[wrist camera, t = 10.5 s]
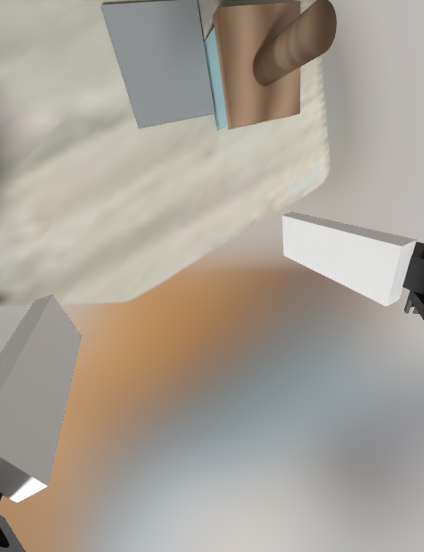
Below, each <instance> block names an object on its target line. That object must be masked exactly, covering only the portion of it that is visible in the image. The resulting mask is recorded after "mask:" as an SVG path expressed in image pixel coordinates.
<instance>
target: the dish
mask: <svg viewBox="0 0 424 552" xmlns="http://www.w3.org/2000/svg"><path fill="white" fill-rule="evenodd" d="M204 47H205V54H206V60H207V66H208V72H209V79H210V85H211V91H212V98H213V104H214V110H215V119H216V125H217V131H218V130H223V129H227V128H228V123H227V116H226V109H225V101H224V94H223V87H222V80H221V73H220V65H219V58H218V51H217V44H216V36H215V29H214V28H213V30H212V31H211V33H210V34H209V36H208V37H207V39H206V40H205V42H204Z"/></svg>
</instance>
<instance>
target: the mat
mask: <svg viewBox="0 0 424 552" xmlns="http://www.w3.org/2000/svg"><path fill="white" fill-rule="evenodd" d="M101 9H102V12H103V15H104V18H105V22H106V25H107V28H108V31H109V34H110V38H111V41H112V44H113V47H114V50H115V54H116V57H117V60H118V63H119V66H120V70H121V73H122V76H123V79H124V82H125V86H126V89H127V92H128V95H129V98H130V102H131V105H132V108H133V111H134V114H135V118H136V121H137V124H138V127H139V129H140V128H145V127H150V126H155V125H160V124H165V123H170V122H175V121H180V120H185V119H191V118H196V117H201V116H206V115H211V114H214V113H215V110H214V104H213V98H212V91H211V85H210V79H209V72H208V66H207V60H206V54H205V47H204V41H203V35H202V29H201V22H200V16H199V10H198V4H197V0H173V1H156V2H139V3H123V4H106V5H101Z"/></svg>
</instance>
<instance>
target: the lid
mask: <svg viewBox="0 0 424 552" xmlns="http://www.w3.org/2000/svg"><path fill="white" fill-rule="evenodd" d="M213 22H214V29H215V36H216V44H217V51H218V58H219V65H220V73H221V80H222V87H223V94H224V101H225V109H226V116H227V123H228V130H229V129H234V128H238V127H243V126H247V125H252V124H256V123H261V122H266V121H270V120H275V119H279V118H284V117H289V116H293V115H296V114H299V113H300V67H301V66H303V65H304V64H306V63H308V62H309V61H311V60H313V59H315V58H316V57H318V56H320V55H322V54H323V53H325V52H326V51H327V50H328V49H329V48H330V46H331V44H332V43H333V40H334V37H335V33H336V24H337V22H336V14H335V10H334V8H333V5H332V4H331V3H330V2H329V1H328V0H317V1H316V2H315V3H314V4H312V5H311V6H310V7H309V8H308V9H307V10H305V11H304V12H303V13H302V14H301V15H300V1H299V2H285V3H271V4H257V5H243V6H229V7H218V8H217V9H216V11H215V13H214V14H213Z"/></svg>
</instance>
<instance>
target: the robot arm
mask: <svg viewBox="0 0 424 552" xmlns="http://www.w3.org/2000/svg"><path fill="white" fill-rule="evenodd" d="M282 221H283V246H284V256H286V257H288V258H290V259H292V260H294V261H296V262H298V263H300V264H302V265H304V266H306V267H308V268H310V269H312V270H314V271H316V272H318V273H320V274H323V275H324V276H327V277H328V278H330V279H332V280H334V281H336V282H338V283H341V284H342V285H344V286H347V287H348V288H350V289H353V290H354V291H356V292H359V293H360V294H363V295H364V296H366V297H368V298H371V299H372V300H374V301H376V302H378V303H380V304H382V305H385V306H388V305H390V304H392V303H394V302H396V301H398V300H399V299H400V295H401V292H402V288H403V287H404V288H407V289H409V290H410V294H409V296H408V300H407V303H406V306H405V309H404V311H405V313H409V310H410V307H415V309H414V311H413V313H414V314H420V315H421V317H422V318H423V320H424V243H419V242H416V240H415V239H411V238H406V237H402V236H398V235H393V234H389V233H384V232H379V231H375V230H371V229H366V228H361V227H357V226H353V225H348V224H344V223H340V222H335V221H331V220H326V219H322V218H317V217H313V216H308V215H303V214H299V213H295V212H291V213H288V214H285V215H283V216H282ZM80 340H81V334H80V332H79V331H78V330H77V328H76V327H75V325H74V324H73V323H72V321H71V320H70V318H69V317H68V316H67V314H66V313H65V311H64V310H63V309H62V307H61V306H60V304H59V303H58V302H57V300H56V299H55V297H54V296H53V295H49V296H47V297H44V298H41V299H38V300H35V301H34V303H33V304H32V306H31V307H30V309H29V310H28V312H27V313H26V315H25V316H24V318H23V320H22V321H21V322H20V324H19V326H18V327H17V329H16V330H15V332H14V333H13V335H12V336H11V338H10V339H9V341H8V342H7V344H6V346H5V347H4V349H3V350H2V352H1V353H0V500H1V497H2V495H3V496H5V497H7V498H9V499H11V500H13V501H15V502H19V501H21V500H23V499H25V498H27V497H29V496H31V495H32V494H34V493H36V492H38V491H40V490H42V489H44V488H45V487H47V486H48V483H49V479H50V474H51V470H52V465H53V461H54V456H55V452H56V447H57V443H58V439H59V434H60V429H61V425H62V421H63V416H64V412H65V407H66V403H67V398H68V394H69V390H70V385H71V381H72V376H73V372H74V367H75V363H76V358H77V354H78V349H79V345H80ZM0 552H25V550H24V549H23V547H22V545H21V544H20V542H19V541H18V539H17V537H16V536H15V534H14V532H13V531H12V529H11V528H10V526H9V524H8V523H7V521H6V519H5V518H4V517H2V516H1V515H0Z"/></svg>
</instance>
